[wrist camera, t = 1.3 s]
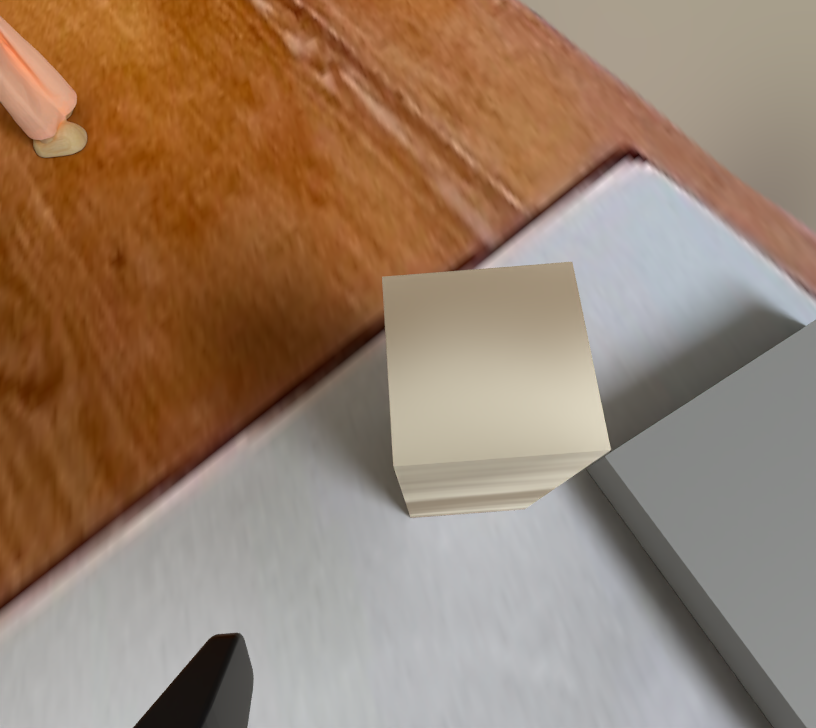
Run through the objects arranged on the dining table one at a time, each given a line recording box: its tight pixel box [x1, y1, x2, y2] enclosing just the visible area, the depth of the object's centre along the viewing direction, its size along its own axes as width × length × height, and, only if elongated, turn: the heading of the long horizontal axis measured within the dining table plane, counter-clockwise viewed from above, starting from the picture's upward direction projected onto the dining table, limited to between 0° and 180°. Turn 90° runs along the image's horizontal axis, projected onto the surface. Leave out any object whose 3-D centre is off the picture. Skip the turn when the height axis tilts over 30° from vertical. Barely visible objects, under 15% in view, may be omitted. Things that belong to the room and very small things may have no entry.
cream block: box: [382, 262, 611, 518], centre depth 17 cm, size 4×4×11 cm
